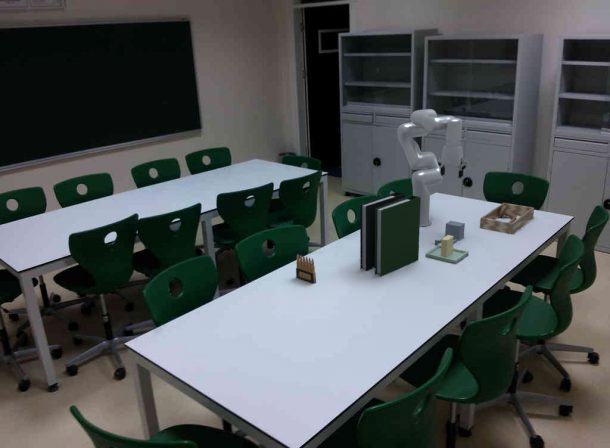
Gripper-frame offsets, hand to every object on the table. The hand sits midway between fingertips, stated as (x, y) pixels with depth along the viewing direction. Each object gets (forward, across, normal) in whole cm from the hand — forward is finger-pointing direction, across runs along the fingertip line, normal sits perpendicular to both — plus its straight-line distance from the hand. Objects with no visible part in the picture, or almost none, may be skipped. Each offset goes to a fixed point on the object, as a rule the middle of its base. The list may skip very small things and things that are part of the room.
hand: (451, 176), depth 275 cm
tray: (+34, +10, -22) cm, 42 cm away
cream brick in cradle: (+34, +10, -22) cm, 41 cm away
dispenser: (+34, +2, -3) cm, 34 cm away
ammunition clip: (+35, -29, -84) cm, 95 cm away
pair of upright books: (+34, -8, -47) cm, 59 cm away
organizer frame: (+34, +16, +42) cm, 57 cm away
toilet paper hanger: (+35, +14, +42) cm, 56 cm away
